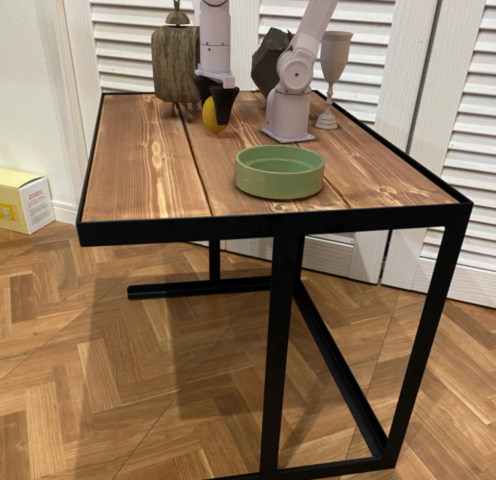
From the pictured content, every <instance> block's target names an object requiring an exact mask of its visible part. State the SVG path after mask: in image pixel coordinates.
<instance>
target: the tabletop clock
mask: <svg viewBox="0 0 496 480" xmlns="http://www.w3.org/2000/svg"><path fill="white" fill-rule="evenodd" d="M180 6H181V0H173V7H174V10H173V11H170V12H169V13H168V14H167V16H166V18H165V21H164V23H165V24H164V25H162V26H160V27H158V28H156V29H155V30H154V31H153V32H152V33H151V36H150V50H151V51H150V53H151V54H150V55H151V66H152V78H153V89H154V90H153V91H154V97H155V98H157V99H159V100H160V101H162V102H163V103H171V107H170V108H169V109H168V115H169V116H171V117H174V116H175V115H176V109H175V106H176V104H178V103H179V104H180V105H181V106H182V107H183V109H184V110H185V113H186V116H185V121H187V123H192V122H193V121H194V118H195V117H194V116H193V115H192V114H191V113H190V110H189V107H188V104H191V109H192V110H193V111H197V110H199V103H200V102H201V101H200V97H199V94H198V91H197V88H196V86H195V84H194V82H193V78H196V77H199V76H200V75H196V74H195V70H198V64H200V25H190V24H191V21H190V18H189V16H188V15H187V14H186V12H183V11H181V8H180Z"/></svg>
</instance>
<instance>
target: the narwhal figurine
mask: <svg viewBox="0 0 496 480" xmlns="http://www.w3.org/2000/svg"><path fill="white" fill-rule="evenodd" d="M286 30H287V31H283V30H282V29H279V28H277V27H273V26H271V27H270V28H269V29H268V31H267V32H266V34H265V35H264V36H263V38H262V41H261V43H260V45H259V47H258V48H257V50H255V51H254V52H253V54H252V55H251V67H250V68H251V69H250V78H251V80H252V82H253V84H254V85H255V86H256V87H257V89H258V91H259V92H260V93H261V95H262V96H263V98H264V99H265V102H264V109H265V110H266V107H267V98H268V95H269V93H270V92H271V90H272V89H274V88H275V86H276V85H277V84H278V83H279V81H280V77H279V75H278V73H277V61H278V59H279V57H280V55H281V54H282V53H283V52H284V51H285V50H286V49H287V48H288V47H289V45H290V42H291V40H292V38H293V37H294V35H295V33H293V32H292V31H290V30H289V29H288V28H287V29H286ZM309 120H316V118H315V117H314V116H313V115H311V114H310V113H309Z"/></svg>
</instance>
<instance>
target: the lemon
mask: <svg viewBox="0 0 496 480" xmlns="http://www.w3.org/2000/svg"><path fill="white" fill-rule="evenodd" d="M201 113H202V114H201V118H202V122H203V125H204V127H205V128H206V129H207V131H209V132H211V133H212V134H213V135H214V136H218V135H219V134H220V133H223V132H224V131H225V130H226V129H227V128H228V125H229V124H228V125H220V126H219V125H217V121H216V114H215V106H214V101H213V97H212V96H210V97H209V98H208V99H207V100H206V101H205V103H204V106H203V110H202V112H201Z"/></svg>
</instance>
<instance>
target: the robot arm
mask: <svg viewBox="0 0 496 480" xmlns="http://www.w3.org/2000/svg"><path fill="white" fill-rule="evenodd" d="M339 1H340V0H309V1H308V4H307V6H306V8H305V11H304V13H303V15H302V18H301V20H300V23H299V25H298V28H297V29H296V31H295V32H294V34H295V35H294V37H293V38H292V40H291V42H290V45H289V47H288V48H287V49H286V50H285V51H284V52H283V53H282V54H281V55H280V57H279V59H278V61H277V73H278V75H279V77H280V81H279V83H278V84H277V85H276V86H275V88H274V89H272V90H271V92H270V93H269V95H268V98H267V107H266V109H265V110H266V111H265V127H264V128H261V132H262V133H264V134H266V135H267V136H269V137H270V138H272V139H274V140H275V141H277V142H279V143H281V144H287V143H296V142H305V141H314V140H316V136H315V135H312V134H311V133H309V132H308V129H309V120H310V119H309V114H310V109H311V99H312V87H311V84H312V82H313V79H314V67H315V62H316V60H317V58H318V55H319V51H320V50H319V49H320V46H321V42H322V37H323V35H324V33H325V31H327V28H328V27H329V23H330V21H331V19H332V17H333V15H334V12H335V10H336V8H337V6H338V3H339ZM199 11H200V14H199V16H198V17H199V26H200V64H198V70H195V74H196V75H200V76H199V77H196V78H193V82H194V84H195V86H196V88H197V91H198V94H199V97H200V101H199V102H200V106H201V110H202V111H203V106H204V103H205V101H206V100H207V99H208V98H209V97H210V96H212V97H213V101H214V106H215V114H216V121H217V125H219V126H220V125H229V123H230V119H231V114H232V110H233V106H234V103H235V101H236V99H237V97H238V96H239V94H240V90H241V88H240V87H239V86H236V76H235V75H233V72H232V70H231V36H232V35H231V29H232V28H231V26H232V17H231V14H230V0H200V1H199Z"/></svg>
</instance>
